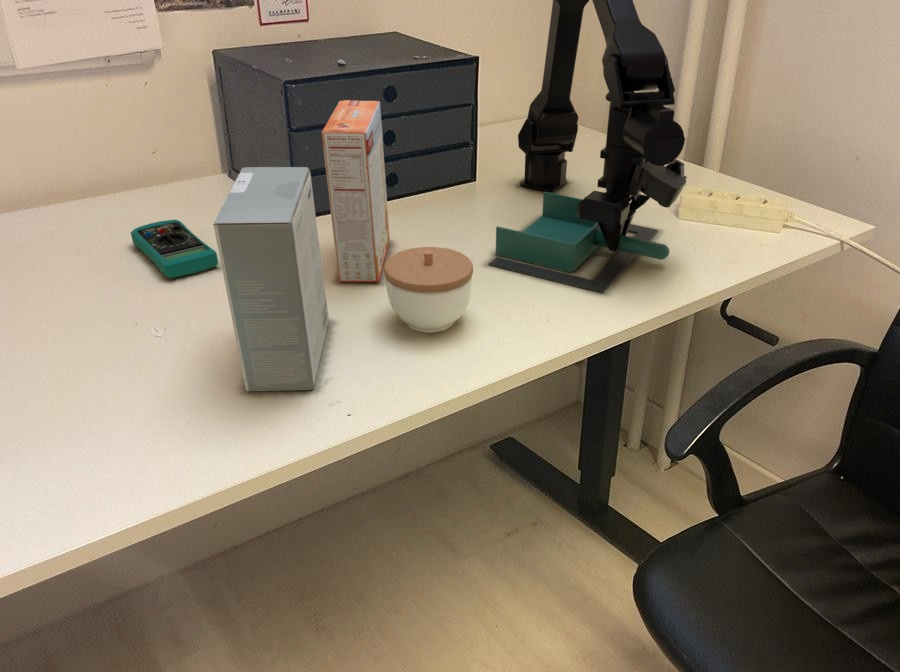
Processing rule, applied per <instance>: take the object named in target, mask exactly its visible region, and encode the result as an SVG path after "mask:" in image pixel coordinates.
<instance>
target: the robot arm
mask: <svg viewBox="0 0 900 672" xmlns="http://www.w3.org/2000/svg"><path fill="white" fill-rule="evenodd" d="M589 2H590V0H552V6H551V14H550V20H549V28H548V37H547V44H546V52H545V60H544V68H543V76H542V83H541V90H540V91H539V93H538V94H537V95H536V96H535V97H534V99H533V100H532V101H531V103H530V104H529V107H528V113H527V118H526V119H525V120H524V122H523V124H522V126H521V129H520V131H519V132H518V134H517V142H518V144H517V145H518V148H519V149H520V150H521V152H522V153H524V177H523V179H524V180H522V181H520V182H519V186H521V187H525V188H530V189H535V190H539V191H543V192H550V193H554V192H555V191H557V190H558V189H560V188H561V187H562V186H563V185H565V184H566V183H567V182H568V179H567V170H568V160H567V158H566V153H573V151H574V148H575V143H576V140H577V135H578V131H579V124H578V121H579V115H578V113H577V112H576V109H575V106H574V104H573V103H572V100H571V94H572V87H573V81H574V75H575V74H574V73H575V67H576V62H577V55H578V49H579V48H578V47H579V44H580V43H579V42H580V35H581V30H582V29H581V28H582V23H583V16H584V10H585V7H586V6H587V5H588V3H589ZM592 4H593V6H594V10H595V13H596V17H597V19H598V22H599V25H600V28H601V30H602V34H603V36H604V40H605V45H606V47H605V49H604V51H603V52H604V53H603V55H602V58H601V63H602V73H603V78H604V82H605V84H606V87H607V90H608V92H607V93H606V95H605V100H606V101H608V102H609V107H608V119H607V130H606V141H605V147H603V148H602V149H601V150H600V151H599V152H600V153H599V158H600V159H603V169H602V170H603V171H602V176H601V177H599V178H598V179H597V188H600V189H601V188H602V189H605V192H603V191H599V190H592V192H590V193H589V194H587V195H586V196H585V197H584V198H582V199H583V200H581V201H580V202H579V203H578V210H577V217H578V218H580V219H584V220H589V221H594V222H598V224H599V227H600V229H601V232H602V234H603V237H604V239H605V242H606V244H607V247H608V248H607V247H606V248H607V249H608V251H610V252H613V253H616V252H617V251H618V250H617V248H618V245H619V241H620V238H621V235H624V236H627V234H628V233H629V232H628V229H629V227H630V224H632V222H633V219H634V217H635V214H636V212H637V210H638V209H640V208H641V207H643V206H644V205H645V204H646V203H647V202H648V201H649V200H650V199H652V200H653V201H654V202H657V203H658V205H659V206H661V207H663V208H670V207H672V205H673V204H674V203H675V202H676V201H677V199H678V197H679V196H680V195H681V192H682V190H683V189H684V187H685V186H686V184H687V178H688V176H687V175H685V163H684V162H683V161H680V160H679V159H678V157H679V156H680V154H681V153H682V151H683V149H684V146H685V142H686V137H685V132H684V130H683V128H682V126H681V124H680V123H679V122H677V121H675V120H674V117H675V110H674V109H673V108H671V107H666V106H674V105H675V102H676V101H675V95H674V93H675V92H676V88H675V84H674V81H673V78H672V74H671V70H670V67H669V61H668V57H667V55H666V53H665V50H664V48H663V46H662V44H661V42H660V41H659V39H658V37H657V35H656V33H654V32H653V31H652V30H650V29H649V28H648V27H646V26H645V25H644V24H643V23H642V22H641V20H640V18H639V17H640V16H639V14H638V12H637V8H636V5H635V3H634V0H592ZM655 90H658V91H655Z"/></svg>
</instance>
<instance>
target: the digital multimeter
mask: <svg viewBox="0 0 900 672" xmlns="http://www.w3.org/2000/svg"><path fill="white" fill-rule="evenodd" d="M130 236H131V241H132V244H133V245H134V246H135V247H137V248H138V250H140V251H141V252H142V253H144V255H145V256H147V258H149V260H151V261H152V262H153V263H154V265H155V266H156V267H157V268H158V269H159V270H160V271H161V273H162V274H163V275H164V276H165V277H166V278H168V279H176V278H180V277H183V276H189V275H193V274H196V273H200V272H203V271H207V270H211V269H213V268H216V267H217V266H218V265H219V258H218V253H217V251H216V250H215V249H213V248H212V247H210V246H209V245H208V244H206V243H205V242H204V241H202V240H201V239H200V238H199V237H198V236H196V235H195V234H194V233H193V232H192V231H191V230H190V229H189V228H188V227H187V226H186V225H185V224H184V223H183V222H182V221H180V220H178V219H168V220H161V221H155V222H151V223H147V224H143V225H140V226H138V227H136V228H134V229H132V230H131V231H130Z"/></svg>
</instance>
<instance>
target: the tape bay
mask: <svg viewBox="0 0 900 672" xmlns="http://www.w3.org/2000/svg"><path fill="white" fill-rule="evenodd" d="M658 232H659V229H655V228H651V227H647V226H641V225H636V224H632V223H631V224H630V227H629V229H628V232H627V233H633V234H634V236H632V237H633V238H637V239H642V240H647V241H651V240H652V239H653V238H654V236H656V234H657V233H658ZM636 256H638V254H634V253H629V252H625V251H620V250H619V252H618V253H616V255H615V256H614V257H613V258H612V259H611V260H610V261H609V262H608V263H607V264H606V265H605V266H604V268H602V269H601V271H600V272H599V273H598V274H597V275H596V276H594V278H593V279H590V278H585V277H582V276H577V275H572V274H569V273H564V272H560V271H558V270H557V271H556V270H553V269H552V270H551V269H548V268H545V267H539V266H535V265H531V264H527V263H523V262H518V261H514V260H511V259H507V258H504V257H503V258H502V257H498V256H496V257H495V258H493V259H492V260H491V261H490V262H488V266H491V267H494V268H498V269H503V270H506V271H511V272H514V273H519V274H523V275H526V276H531V277H535V278H539V279H544V280H547V281H552V282H555V283H558V284H564V285H567V286H572V287H575V288H578V289H579V288H581V289H583V290H587V291H592V292H596V293H598V294H599V293H600V294H604V293H605V292H606V291H607V289H608V288H609V287H610V286H611V285H612V284H613V283H614V281H616V279H617V278H618V277H619V276H620V275H621V274H622V273H623V272H624V271H625V269H626V268H627V267H628V266H629V265H630V264H631V263H632V261H633V260H635V258H636Z"/></svg>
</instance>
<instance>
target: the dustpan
mask: <svg viewBox="0 0 900 672" xmlns="http://www.w3.org/2000/svg"><path fill="white" fill-rule="evenodd" d="M542 194H543V195H542V196H543V197H542V213H541V216H540V217H538V218H537V220H535V221H534V222H533V223H531V224H530V225H529V226H528V227H526V228H525V229H524V230H523V231H521V230H516V229H511V228H507V227H502V226H496V227H495V255H497V256H500V257H503V258H508V259H513V260H517V261H521V262H525V263H529V264H534V265H537V266H541V267H546V268H550V269H554V270H557V271H558V270H559V271H563V272H567V273H572V272H574V271H575V270H577V269H578V267H580V265H581V264H583V263H584V262H585V261H586V259H588V258H589V256H591V255H592V254H593V253H594V252H595V251H596V250H597V249H598V248H599V247H602V248H607V249H608V247H607V244H606V242H605V239H604V237H603V234H602V232H601V229H600V227H599V224H598V222H594V221H589V220H584V219H580V218H578V217H577V210H578V203H579V202H580V201H581V200H583V199H584V198H578V197H574V196H568V195H565V194H559V193H554V192H548V191H543V193H542ZM633 237H634V236H627V235H626V236H624V235H621V238H620V241H619V245H618V248H617V251H619V252H620V251H625V252H629V253H634V254H637V256H638V255H639V256H642V257H643V256H644V257H647V258H652V259H656V260H666V259H667V258H668V257H669V255H670V248H669V246H668V245H666V244H664V243H660V242H656V241H651V240H650V241H647V240H642V239H637V238H633Z"/></svg>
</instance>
